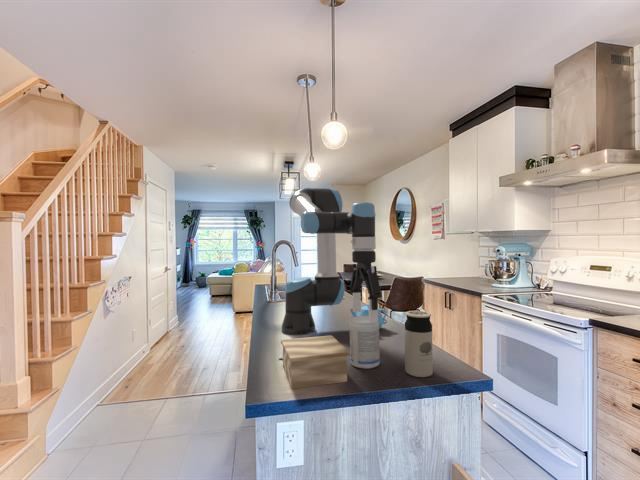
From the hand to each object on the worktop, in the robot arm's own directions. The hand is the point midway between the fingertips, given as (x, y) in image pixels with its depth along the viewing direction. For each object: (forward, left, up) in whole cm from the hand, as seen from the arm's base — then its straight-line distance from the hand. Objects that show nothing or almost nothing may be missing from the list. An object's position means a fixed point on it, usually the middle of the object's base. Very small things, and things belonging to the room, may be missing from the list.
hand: (364, 315), depth 105 cm
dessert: (-16, -19, -17) cm, 30 cm away
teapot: (-38, +18, -16) cm, 45 cm away
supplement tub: (0, 0, -16) cm, 16 cm away
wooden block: (+3, -18, -16) cm, 24 cm away
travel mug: (+11, +13, -16) cm, 23 cm away
